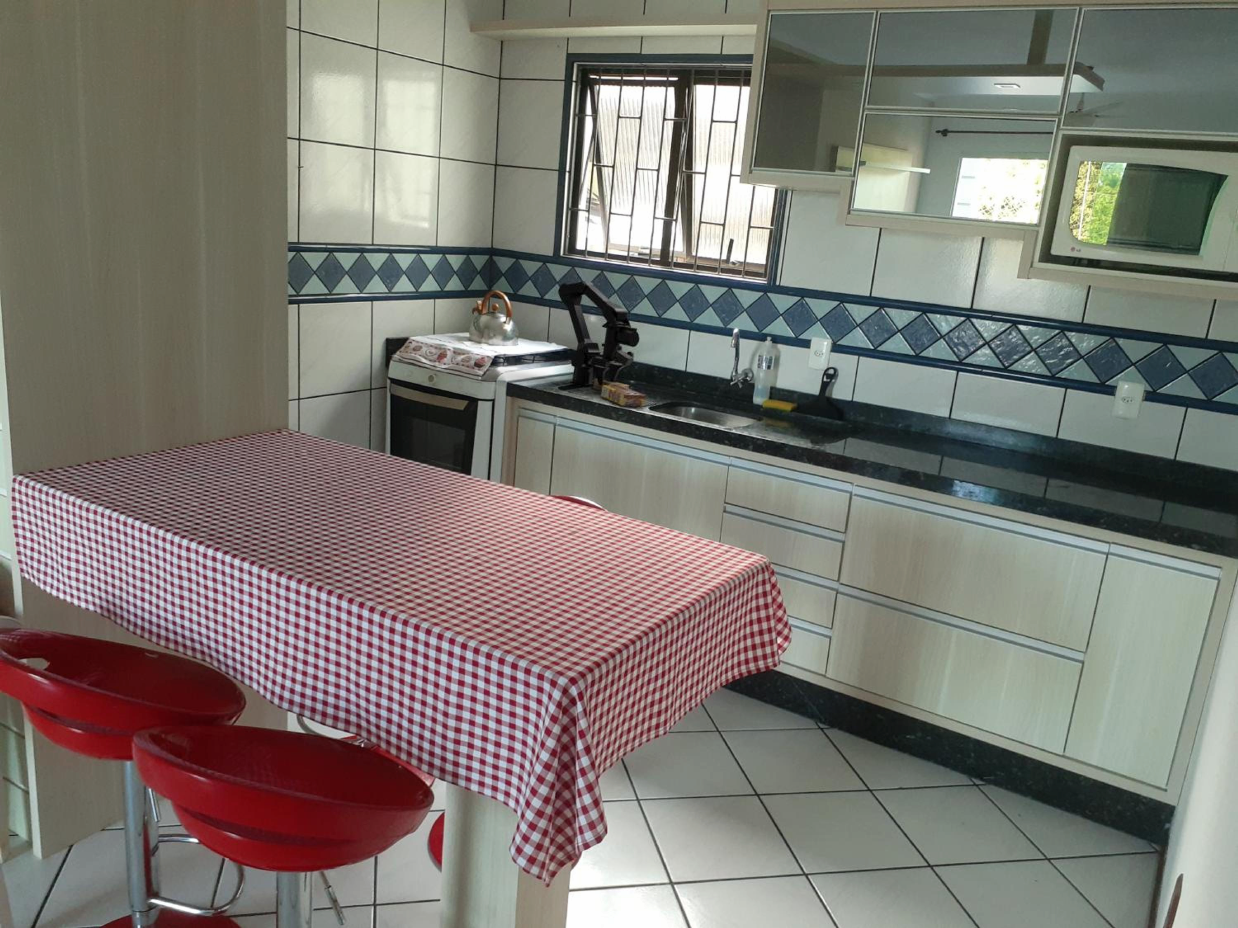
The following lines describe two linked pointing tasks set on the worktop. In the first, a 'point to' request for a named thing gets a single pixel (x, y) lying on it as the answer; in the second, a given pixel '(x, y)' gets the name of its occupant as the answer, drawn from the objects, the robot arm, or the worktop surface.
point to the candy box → (623, 395)
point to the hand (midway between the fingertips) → (606, 384)
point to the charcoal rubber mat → (647, 403)
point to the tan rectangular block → (608, 383)
